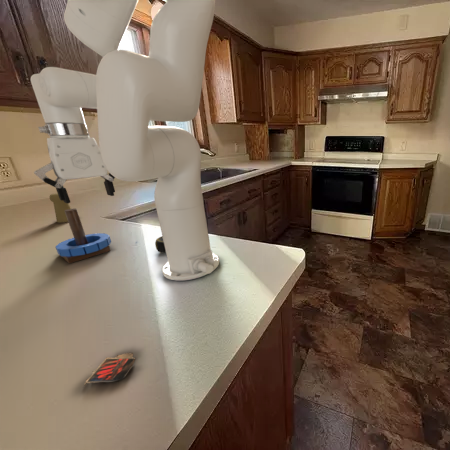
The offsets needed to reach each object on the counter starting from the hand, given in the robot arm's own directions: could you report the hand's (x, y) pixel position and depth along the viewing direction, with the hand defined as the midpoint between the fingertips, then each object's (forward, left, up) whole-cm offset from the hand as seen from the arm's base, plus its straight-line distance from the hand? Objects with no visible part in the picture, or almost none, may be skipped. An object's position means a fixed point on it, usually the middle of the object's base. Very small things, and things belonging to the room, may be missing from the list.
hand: (90, 198), depth 67 cm
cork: (+45, -1, -15) cm, 48 cm away
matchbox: (-50, +15, -14) cm, 54 cm away
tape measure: (-19, -10, -15) cm, 26 cm away
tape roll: (0, +4, -13) cm, 14 cm away
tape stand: (0, +5, -14) cm, 15 cm away
